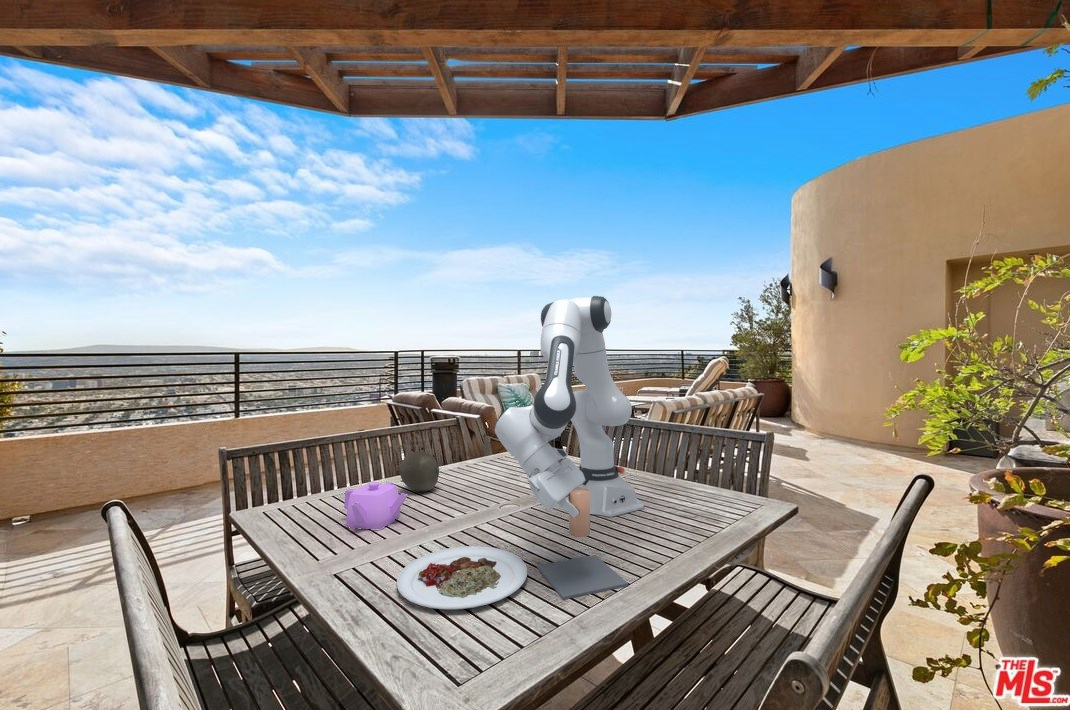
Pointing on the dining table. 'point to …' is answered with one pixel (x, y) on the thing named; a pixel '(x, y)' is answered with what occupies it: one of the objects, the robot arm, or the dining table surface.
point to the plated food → (462, 577)
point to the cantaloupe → (419, 471)
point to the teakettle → (373, 505)
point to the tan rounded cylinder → (581, 522)
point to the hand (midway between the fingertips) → (582, 510)
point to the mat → (581, 576)
